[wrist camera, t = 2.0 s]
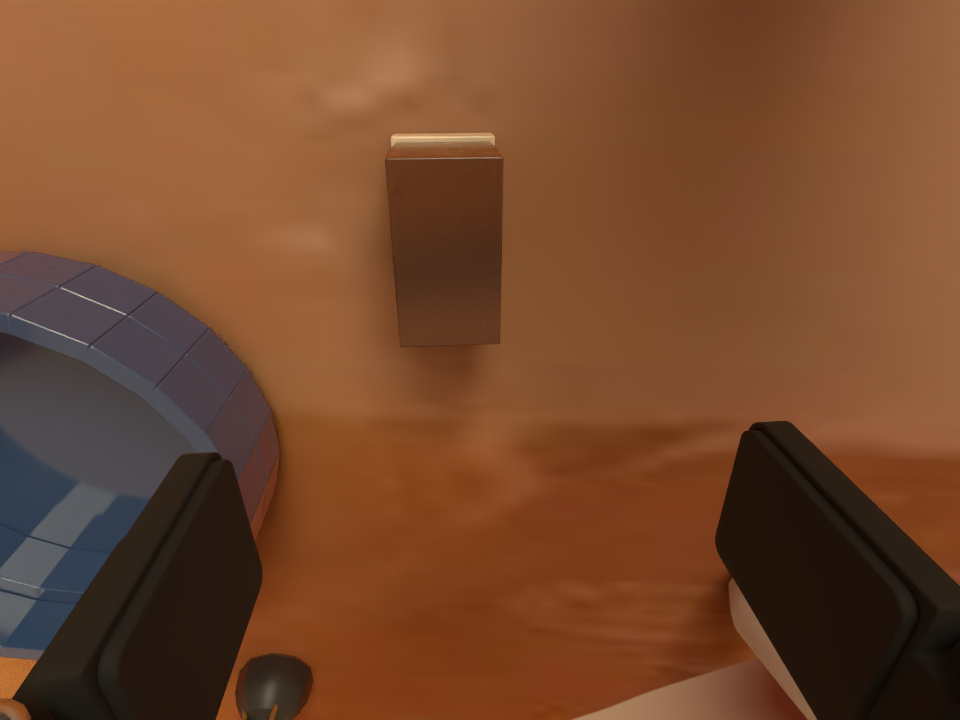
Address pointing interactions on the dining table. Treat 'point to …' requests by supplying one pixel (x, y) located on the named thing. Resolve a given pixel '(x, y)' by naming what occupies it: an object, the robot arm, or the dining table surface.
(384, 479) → the dining table surface
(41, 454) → the bowl
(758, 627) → the salt shaker
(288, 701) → the wooden tabletop sculpture
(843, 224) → the dining table surface
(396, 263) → the eraser
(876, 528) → the robot arm
